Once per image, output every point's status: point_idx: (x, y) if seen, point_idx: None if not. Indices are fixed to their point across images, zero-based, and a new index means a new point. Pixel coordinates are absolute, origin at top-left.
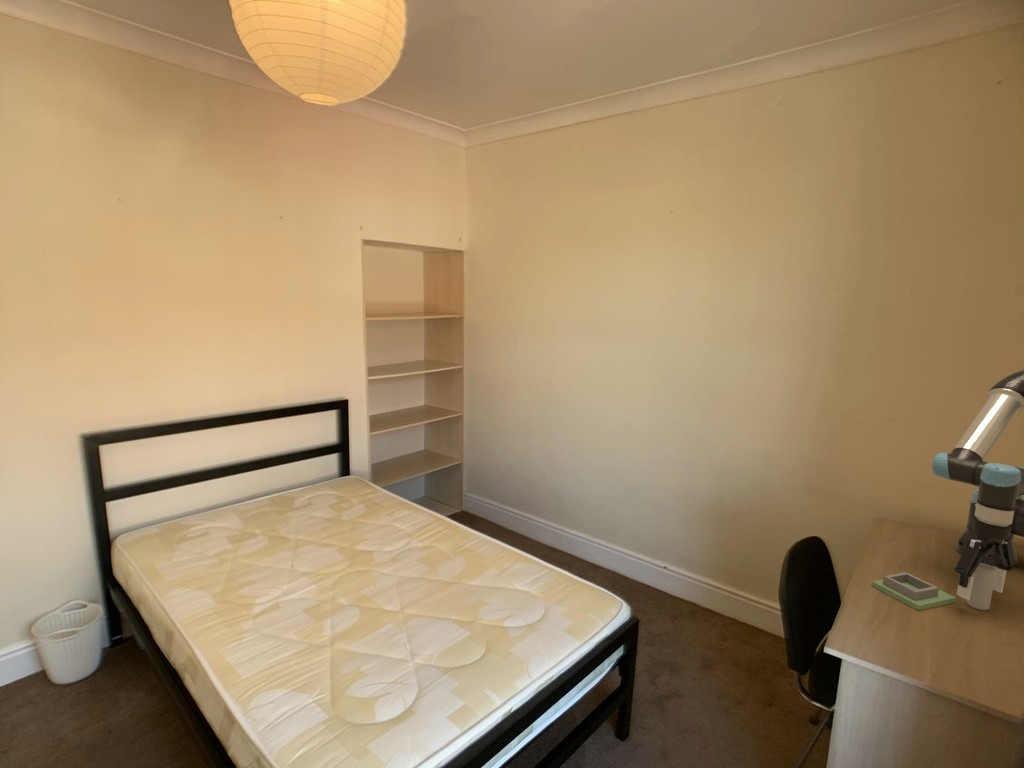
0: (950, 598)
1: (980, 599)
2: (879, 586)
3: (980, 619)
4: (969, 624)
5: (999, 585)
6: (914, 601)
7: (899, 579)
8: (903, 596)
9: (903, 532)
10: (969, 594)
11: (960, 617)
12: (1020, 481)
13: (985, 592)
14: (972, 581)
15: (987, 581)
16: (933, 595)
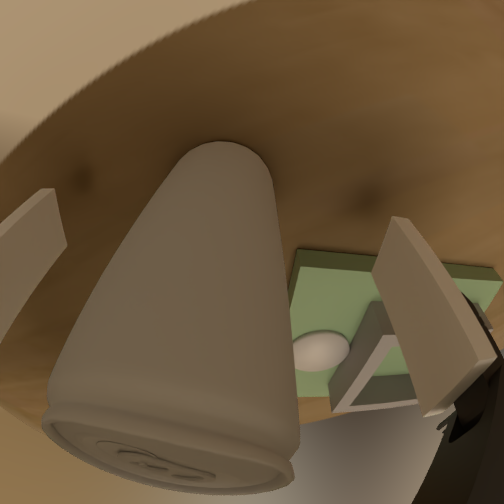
0: (340, 272)
1: (269, 192)
2: None
3: (377, 116)
4: (470, 132)
5: (30, 225)
6: (483, 301)
7: (380, 389)
8: None
9: (42, 414)
10: (420, 240)
11: (439, 175)
12: None
13: (257, 205)
14: (463, 322)
15: (258, 280)
16: None
